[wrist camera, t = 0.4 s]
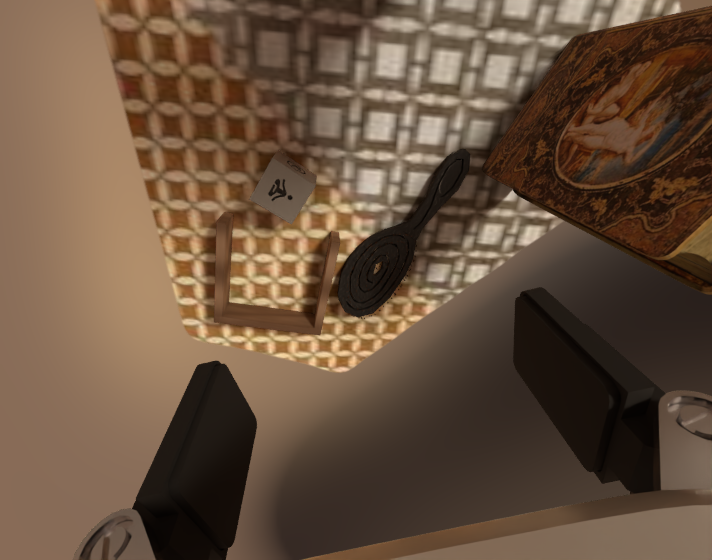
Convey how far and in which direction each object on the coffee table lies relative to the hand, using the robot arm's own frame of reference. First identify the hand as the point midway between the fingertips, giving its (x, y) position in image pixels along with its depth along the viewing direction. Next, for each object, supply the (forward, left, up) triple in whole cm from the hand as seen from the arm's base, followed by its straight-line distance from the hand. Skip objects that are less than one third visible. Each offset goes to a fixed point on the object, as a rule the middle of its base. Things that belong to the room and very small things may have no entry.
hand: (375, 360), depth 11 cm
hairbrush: (+7, +10, -33) cm, 35 cm away
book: (-10, +22, -32) cm, 40 cm away
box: (+15, -5, -32) cm, 36 cm away
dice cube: (+3, -5, -32) cm, 33 cm away
